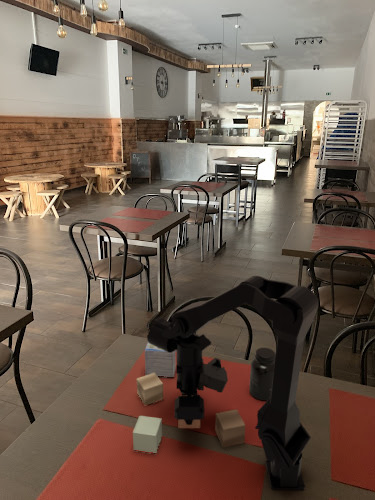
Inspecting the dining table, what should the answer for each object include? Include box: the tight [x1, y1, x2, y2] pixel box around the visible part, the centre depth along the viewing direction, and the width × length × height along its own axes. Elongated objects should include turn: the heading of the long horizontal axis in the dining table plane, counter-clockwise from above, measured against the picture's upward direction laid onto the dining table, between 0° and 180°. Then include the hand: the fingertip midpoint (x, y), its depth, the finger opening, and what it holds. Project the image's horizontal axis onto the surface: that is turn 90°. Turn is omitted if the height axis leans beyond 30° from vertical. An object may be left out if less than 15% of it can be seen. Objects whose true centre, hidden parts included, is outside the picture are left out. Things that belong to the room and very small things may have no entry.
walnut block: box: [214, 409, 246, 449], centre depth 87 cm, size 5×5×5 cm
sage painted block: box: [132, 415, 163, 453], centre depth 85 cm, size 5×5×5 cm
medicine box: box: [144, 341, 177, 378], centre depth 108 cm, size 8×4×9 cm, turn 84°
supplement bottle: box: [249, 347, 276, 401], centre depth 100 cm, size 7×7×12 cm
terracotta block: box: [177, 395, 201, 429], centre depth 92 cm, size 5×5×5 cm
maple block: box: [136, 373, 164, 406], centre depth 99 cm, size 5×5×5 cm
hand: (189, 415), depth 92 cm, fingers closed on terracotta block, 5 cm apart
